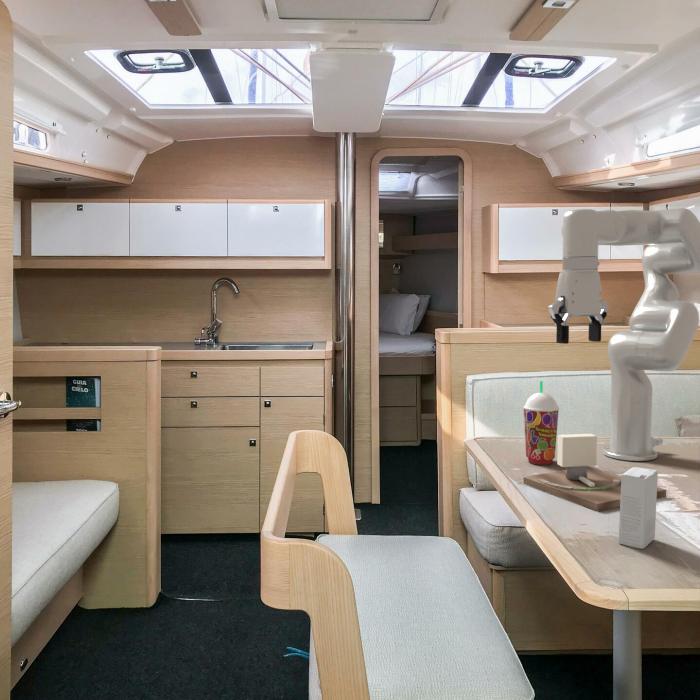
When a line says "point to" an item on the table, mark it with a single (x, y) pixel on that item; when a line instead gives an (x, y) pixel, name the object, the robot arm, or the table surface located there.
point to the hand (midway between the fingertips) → (578, 342)
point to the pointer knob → (577, 455)
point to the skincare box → (638, 507)
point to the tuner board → (584, 488)
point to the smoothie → (540, 427)
